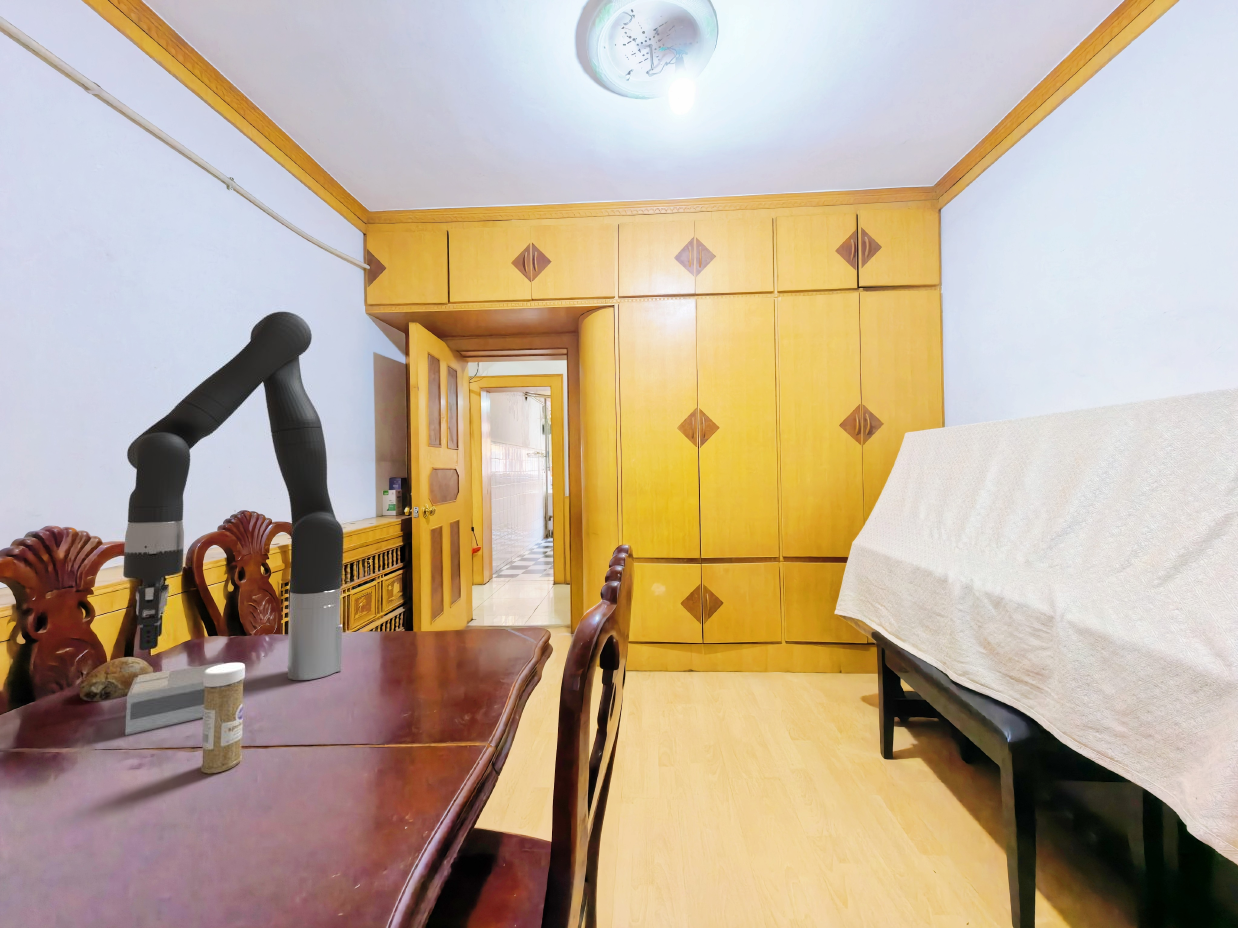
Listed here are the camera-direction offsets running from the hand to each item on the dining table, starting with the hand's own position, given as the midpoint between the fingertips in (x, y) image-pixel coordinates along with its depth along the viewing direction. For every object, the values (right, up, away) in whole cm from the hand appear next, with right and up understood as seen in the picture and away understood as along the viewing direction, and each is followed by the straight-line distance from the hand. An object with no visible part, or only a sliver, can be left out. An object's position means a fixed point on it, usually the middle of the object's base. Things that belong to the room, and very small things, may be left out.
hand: (150, 642), depth 85 cm
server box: (+5, -12, 0) cm, 13 cm away
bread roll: (-16, -13, +10) cm, 23 cm away
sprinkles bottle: (+25, -11, -16) cm, 32 cm away
